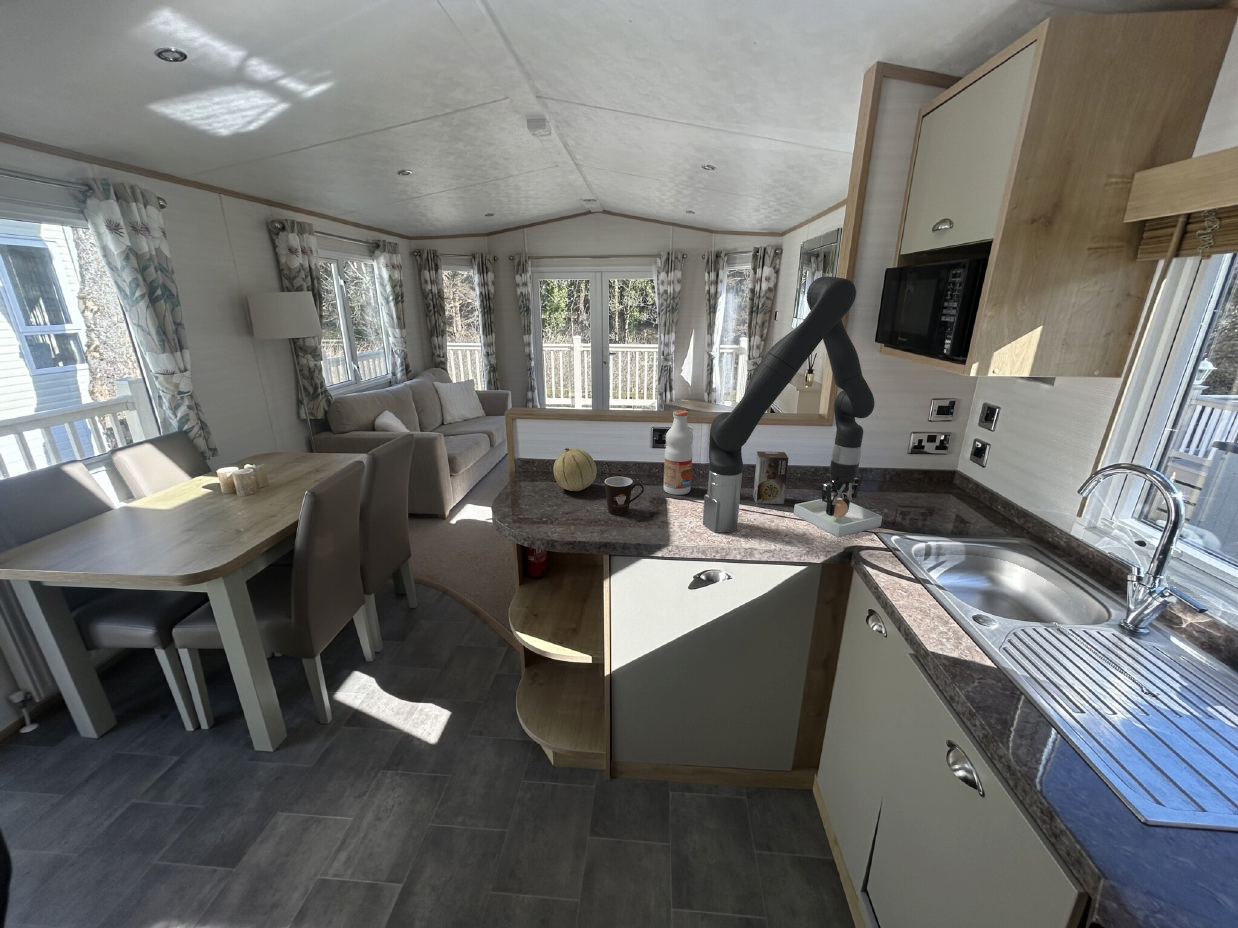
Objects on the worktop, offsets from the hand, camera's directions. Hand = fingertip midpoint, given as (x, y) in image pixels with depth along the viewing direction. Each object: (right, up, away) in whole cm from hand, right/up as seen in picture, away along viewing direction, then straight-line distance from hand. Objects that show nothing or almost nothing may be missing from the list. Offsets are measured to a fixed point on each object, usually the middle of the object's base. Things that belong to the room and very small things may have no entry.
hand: (836, 513), depth 150 cm
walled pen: (0, -2, +1) cm, 2 cm away
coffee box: (-16, +3, +16) cm, 23 cm away
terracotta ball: (0, +2, -1) cm, 2 cm away
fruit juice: (-45, +5, +24) cm, 51 cm away
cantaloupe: (-81, +6, +24) cm, 84 cm away
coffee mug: (-64, 0, +6) cm, 65 cm away
